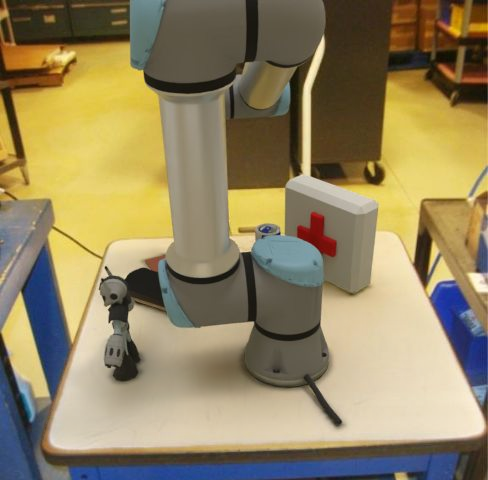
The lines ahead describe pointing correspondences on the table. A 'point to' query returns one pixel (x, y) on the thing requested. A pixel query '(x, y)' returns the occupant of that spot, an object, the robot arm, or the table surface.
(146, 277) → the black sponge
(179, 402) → the table surface
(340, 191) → the bevelled white case
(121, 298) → the robot
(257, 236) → the beverage can
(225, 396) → the table surface
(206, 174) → the robot arm
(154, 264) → the pad
